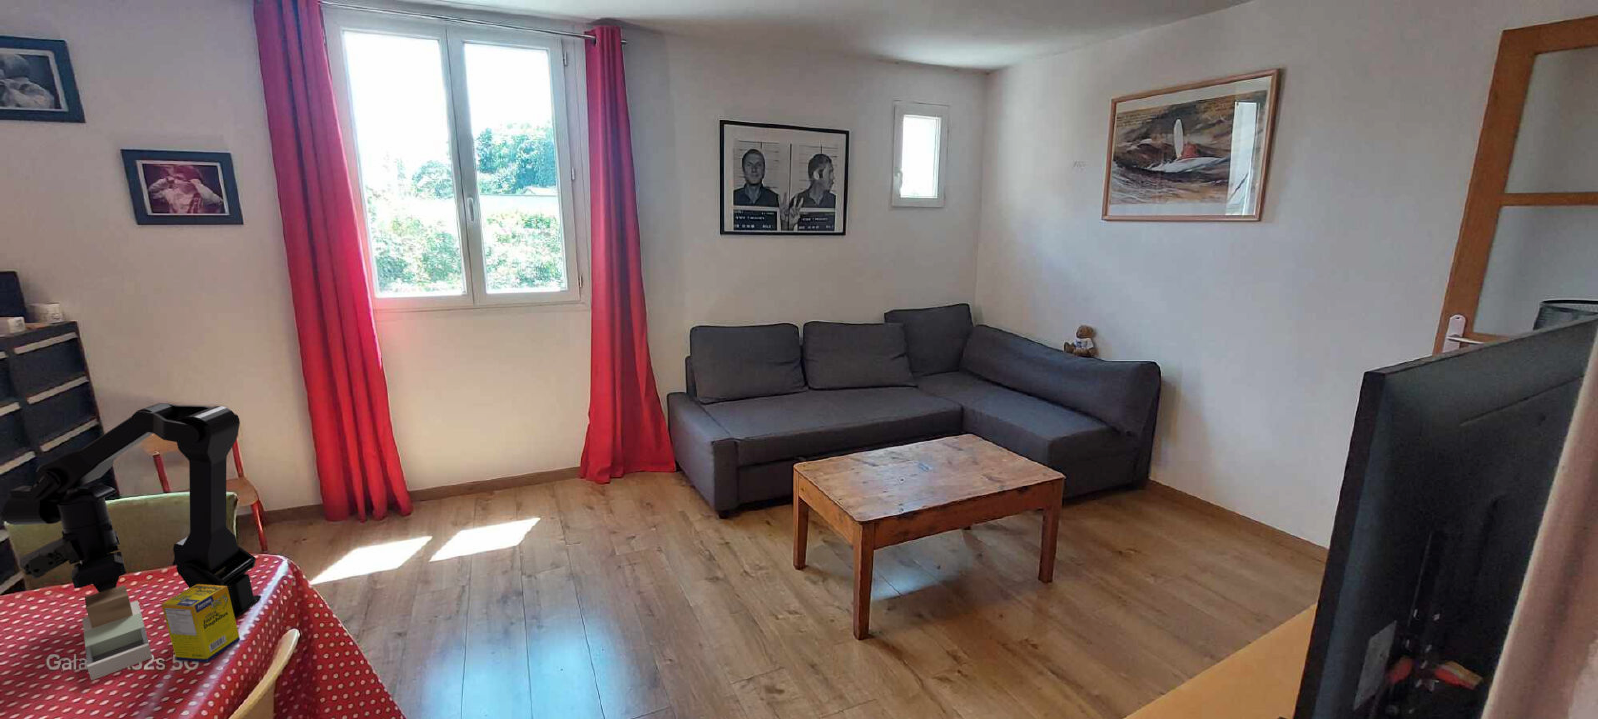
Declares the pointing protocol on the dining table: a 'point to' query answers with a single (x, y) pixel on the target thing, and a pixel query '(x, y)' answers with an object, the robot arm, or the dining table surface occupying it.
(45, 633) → the dining table surface
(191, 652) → the supplement box
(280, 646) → the dining table surface
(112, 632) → the pad
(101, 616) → the walnut block
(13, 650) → the dining table surface
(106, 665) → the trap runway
